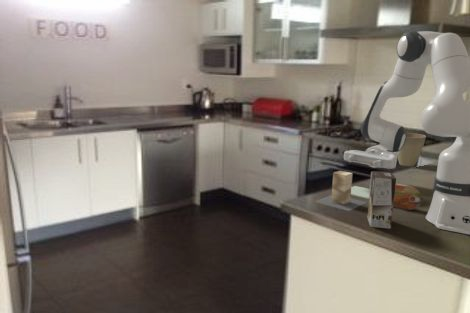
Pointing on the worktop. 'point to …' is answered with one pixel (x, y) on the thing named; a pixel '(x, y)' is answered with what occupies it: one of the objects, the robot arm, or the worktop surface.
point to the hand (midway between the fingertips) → (360, 162)
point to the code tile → (348, 206)
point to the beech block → (341, 187)
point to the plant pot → (411, 149)
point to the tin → (407, 197)
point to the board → (360, 192)
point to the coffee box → (381, 199)
